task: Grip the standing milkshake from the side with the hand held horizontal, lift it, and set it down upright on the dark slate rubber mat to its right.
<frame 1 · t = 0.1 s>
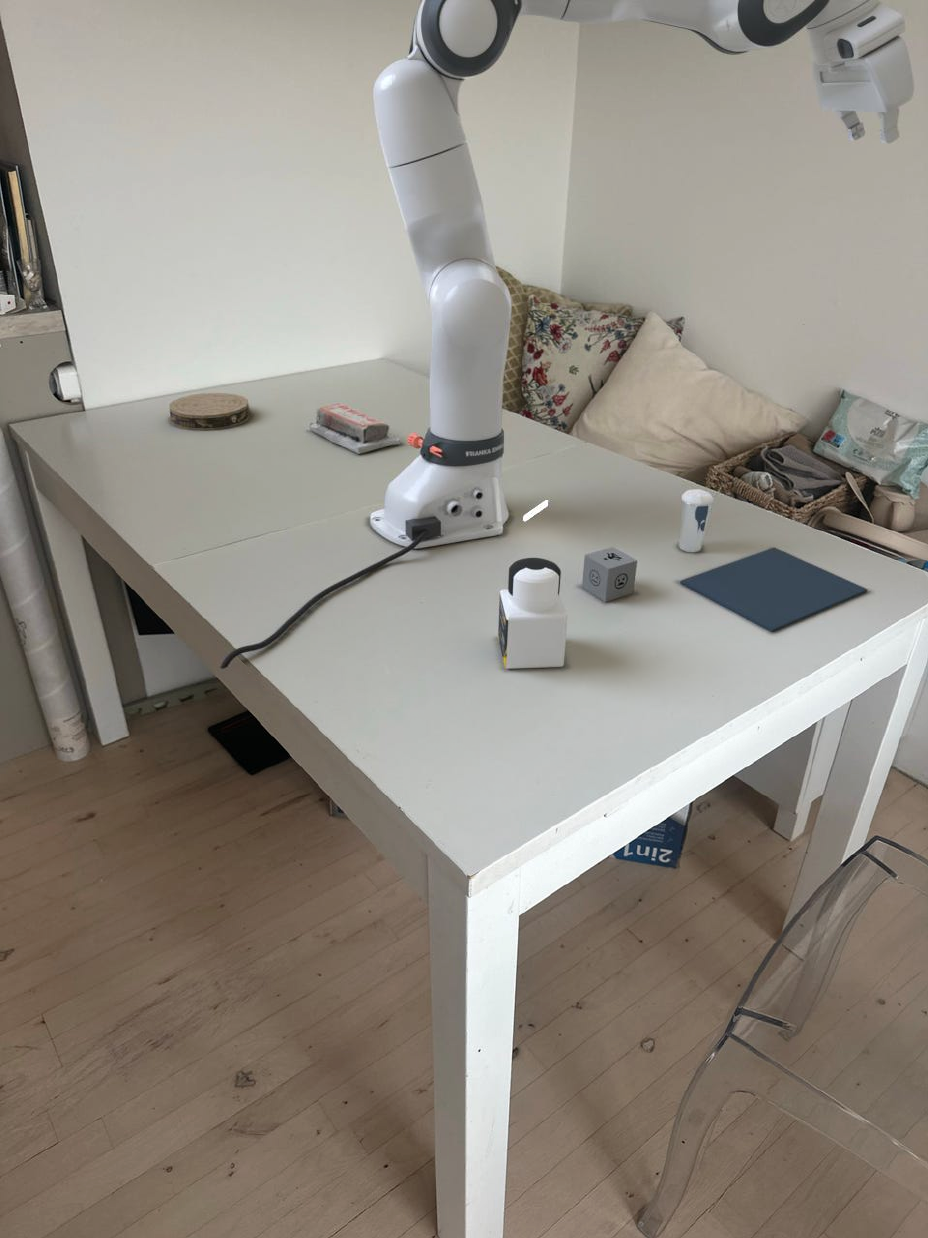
hand: (873, 139, 125), 54 cm above the table, tool tilted 30°, fingers open, 8 cm apart
round wood slice: (211, 418, 189), on the table
milkshake: (692, 549, 137), on the table
packaged product: (353, 438, 179), on the table
medicine bottle: (529, 654, 111), on the table
dice cube: (607, 591, 125), on the table
mat: (772, 587, 127), on the table
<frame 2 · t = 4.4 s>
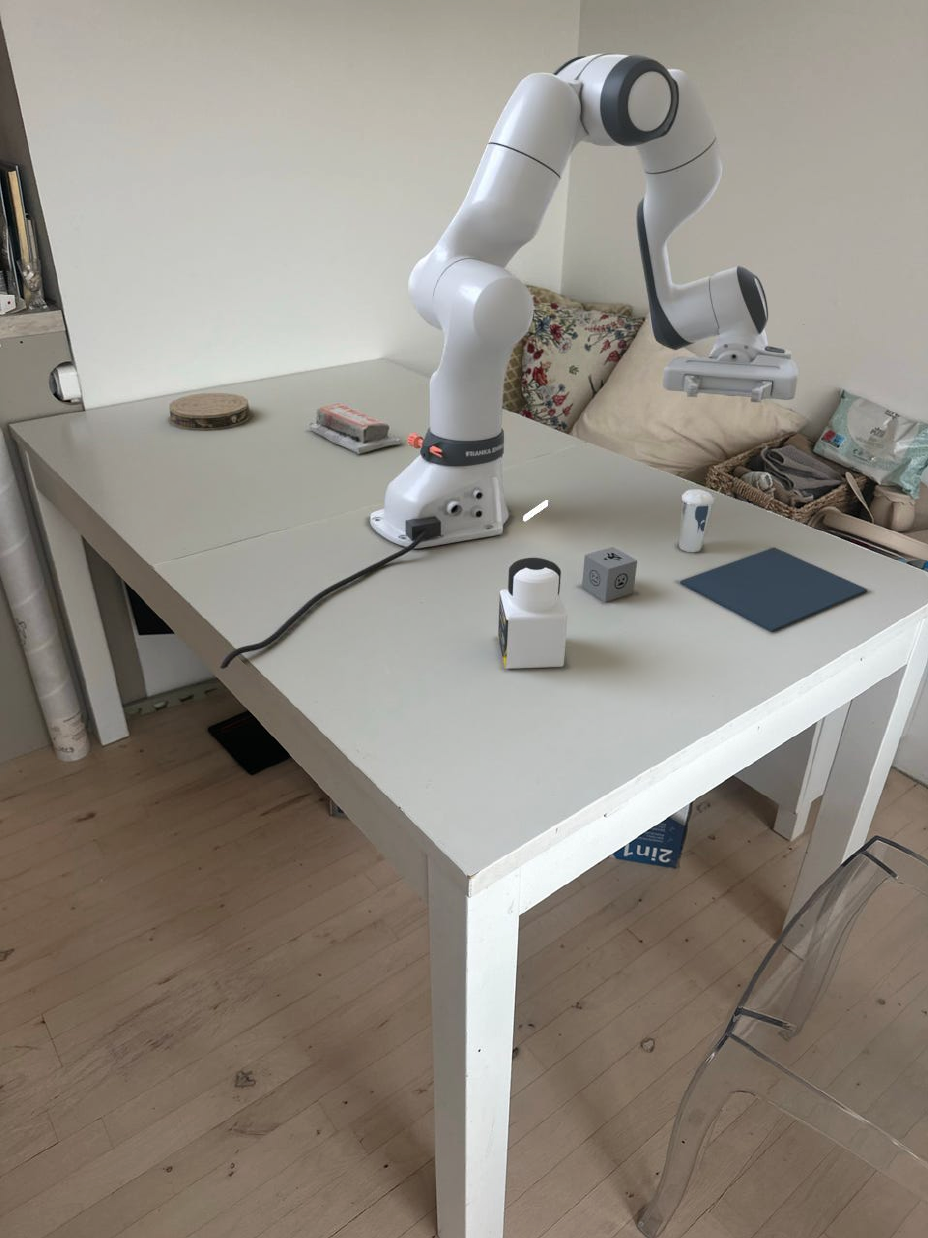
hand: (723, 394, 137), 20 cm above the table, tool horizontal, fingers open, 8 cm apart
nothing on the table moved.
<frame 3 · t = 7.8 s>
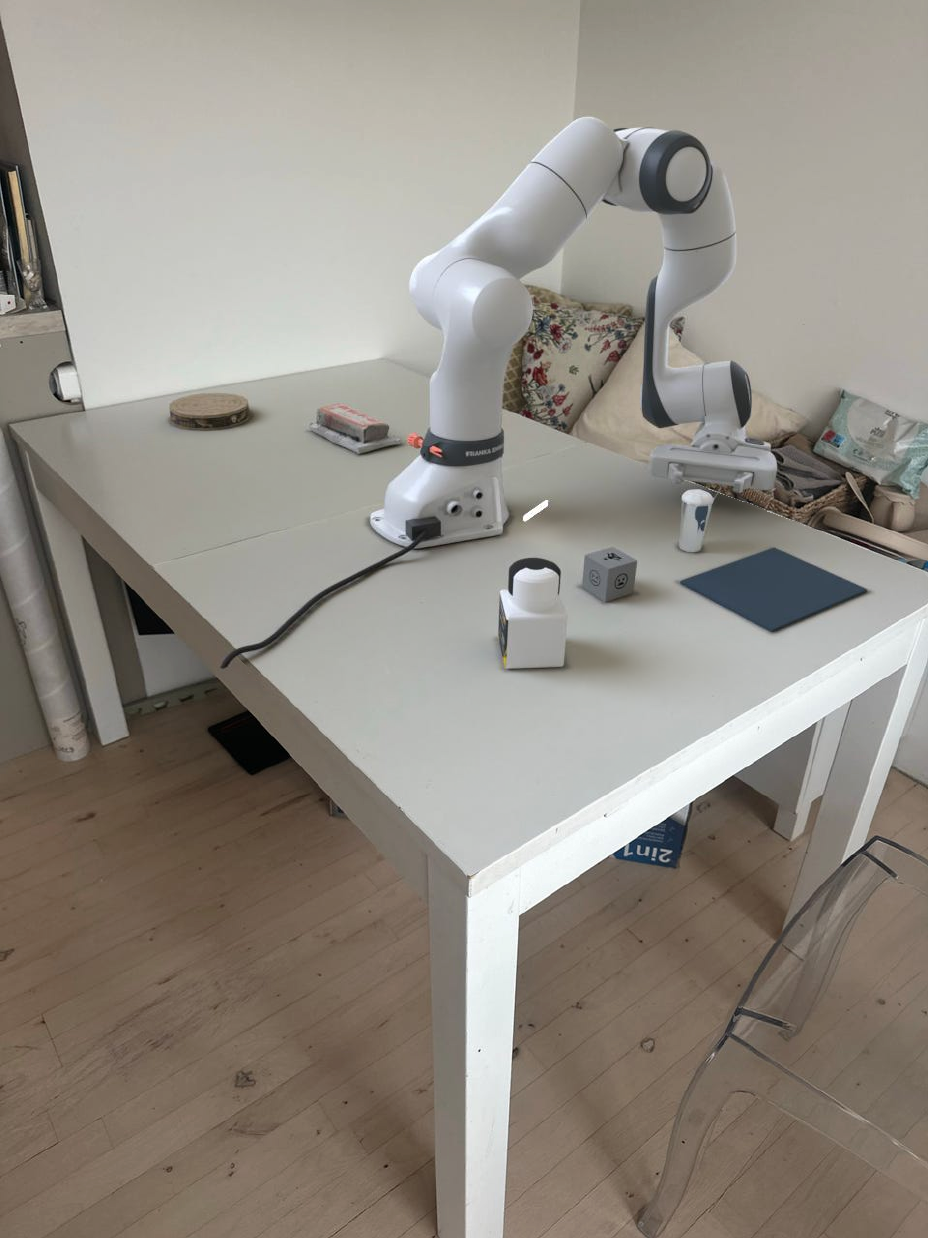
hand: (707, 483, 142), 7 cm above the table, tool horizontal, fingers open, 8 cm apart
nothing on the table moved.
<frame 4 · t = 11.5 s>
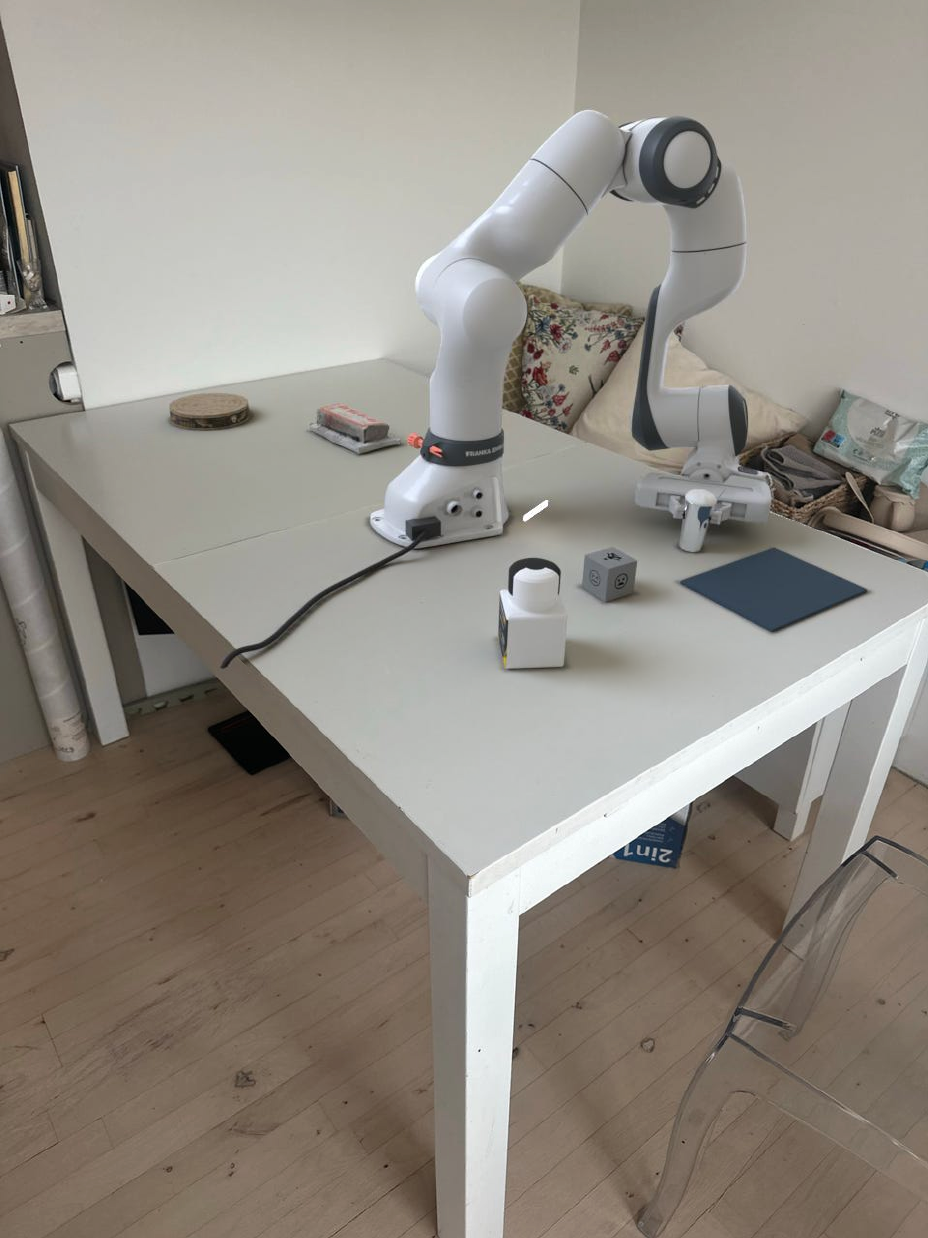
hand: (697, 516, 134), 6 cm above the table, tool horizontal, fingers closed on milkshake, 4 cm apart
milkshake: (692, 549, 137), on the table, touching gripper
everything else where it was.
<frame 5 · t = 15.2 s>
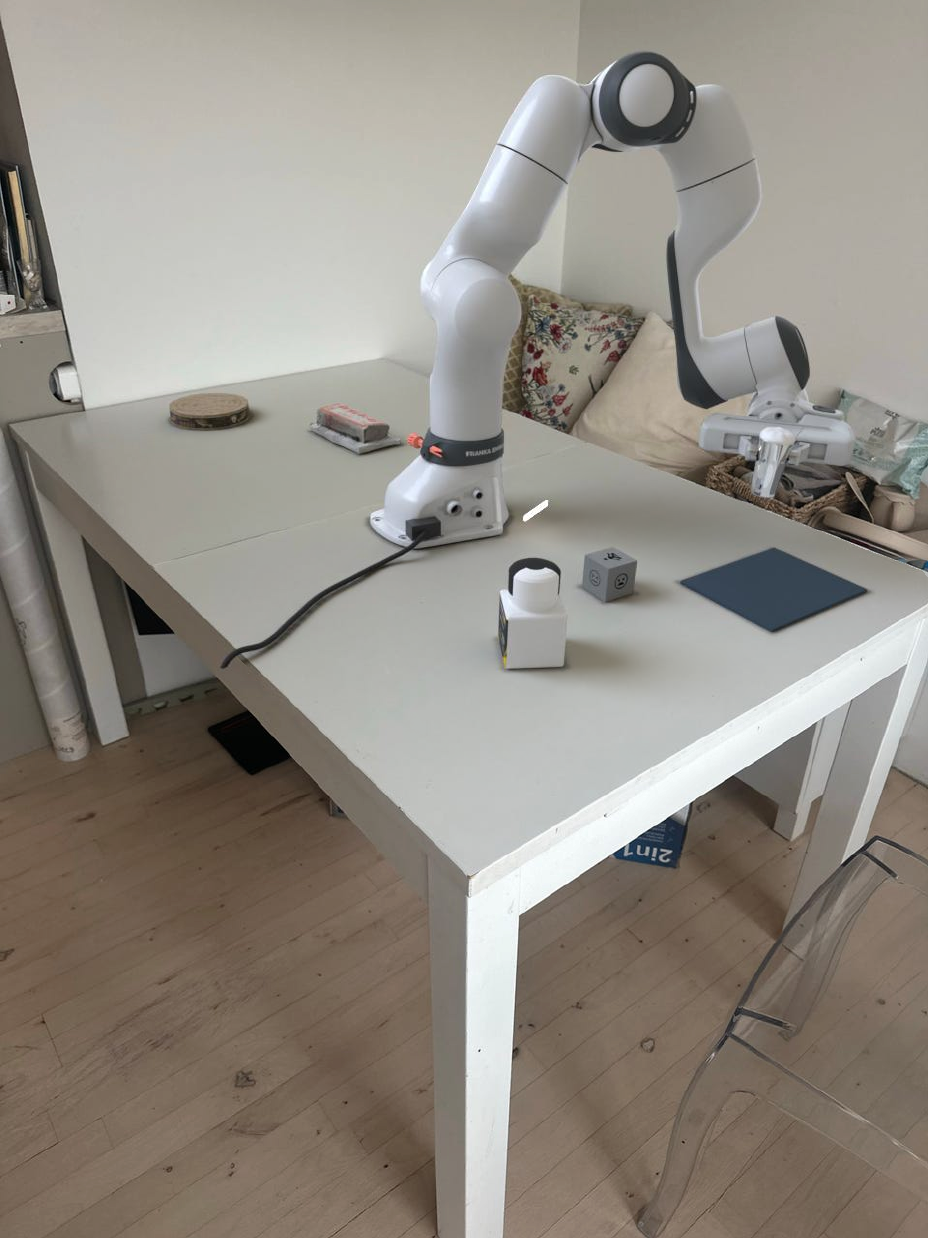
hand: (772, 457, 120), 18 cm above the table, tool horizontal, fingers closed on milkshake, 4 cm apart
milkshake: (765, 495, 124), point 12 cm above the table, touching gripper
everything else where it was.
when the fingers open (6 cm above the table, at t = 19.3 s): milkshake stays where it is, resting on mat.
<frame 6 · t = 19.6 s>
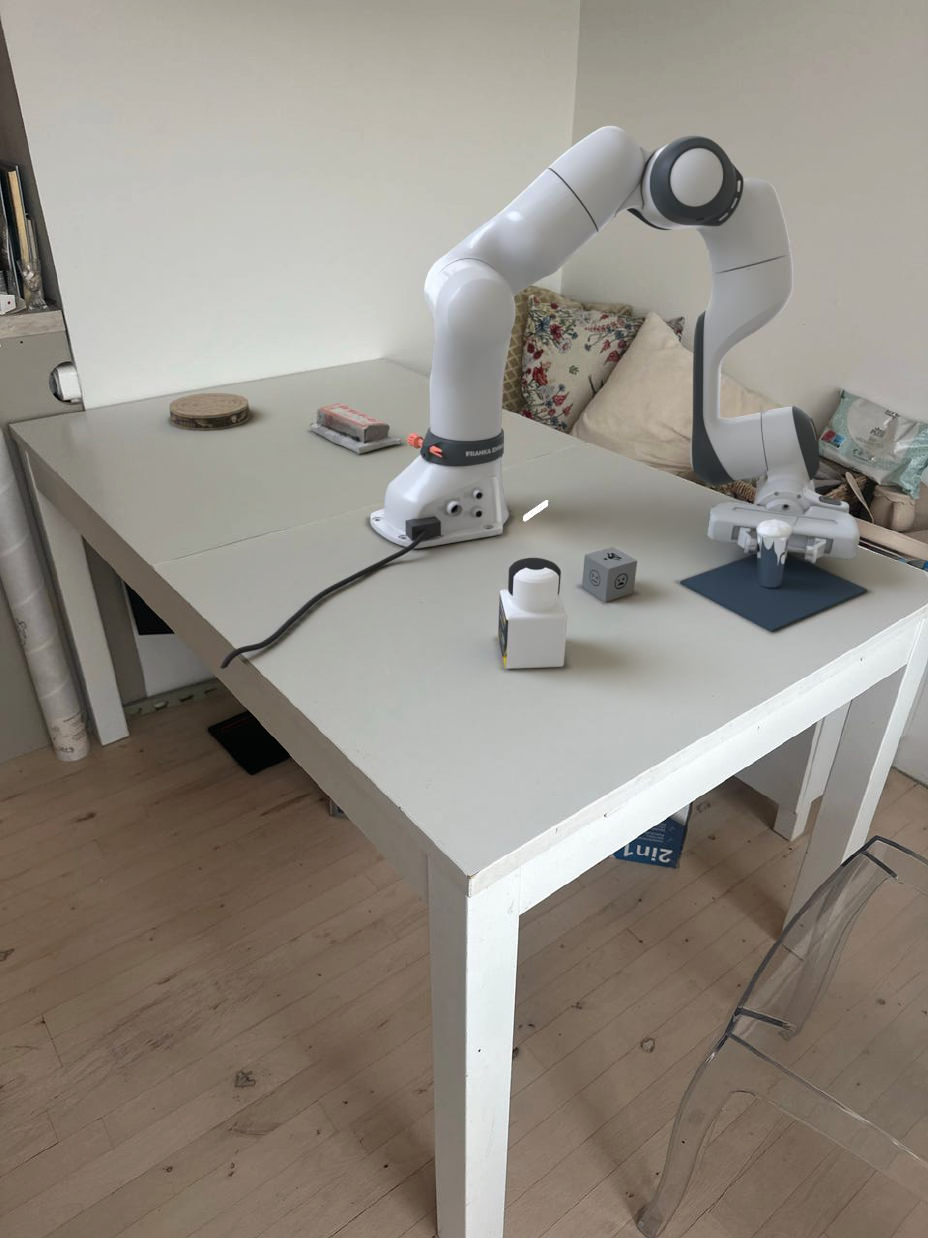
hand: (780, 553, 123), 6 cm above the table, tool horizontal, fingers open, 6 cm apart
milkshake: (772, 584, 127), resting on mat, touching gripper
everything else where it was.
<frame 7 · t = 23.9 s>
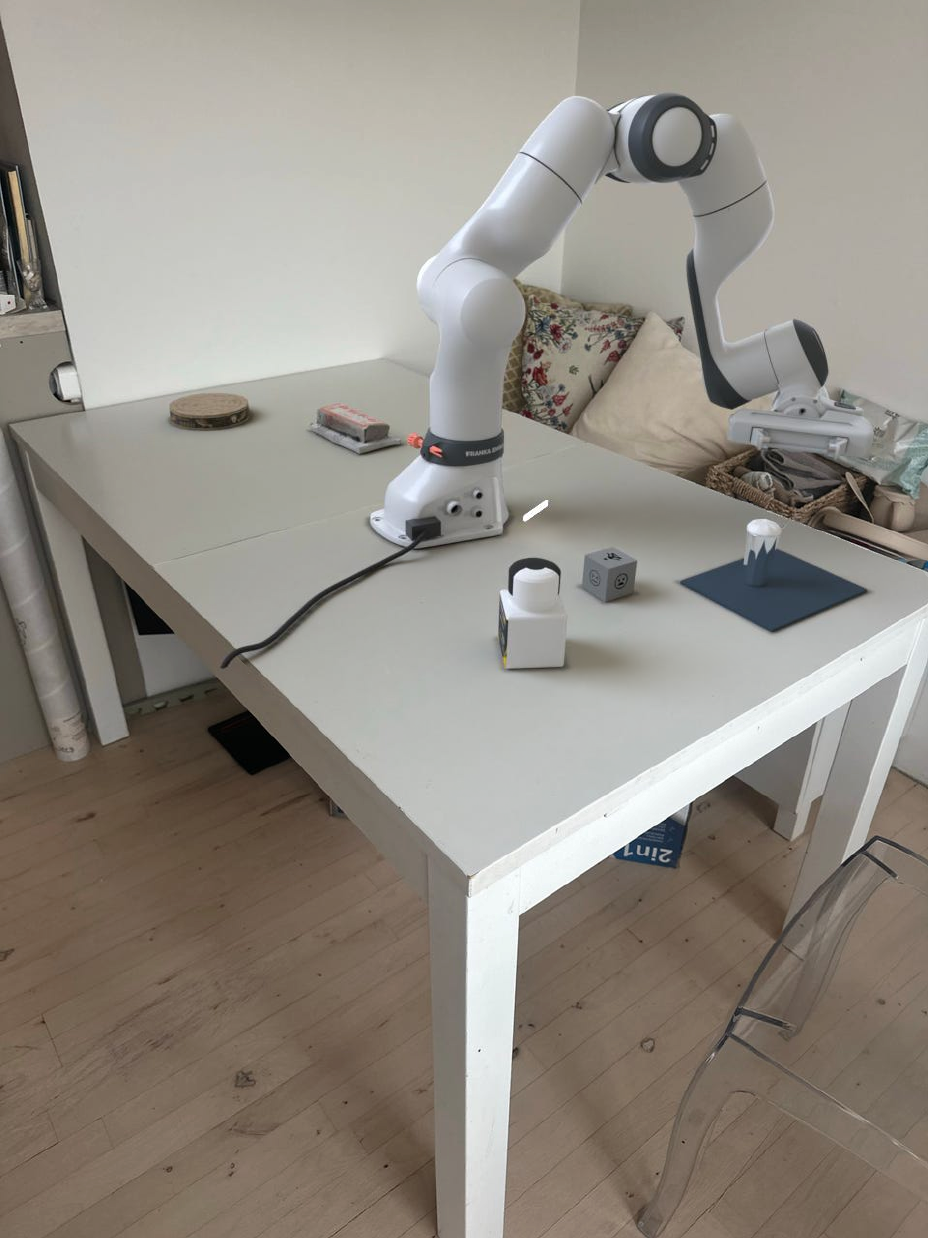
hand: (797, 449, 128), 16 cm above the table, tool horizontal, fingers open, 8 cm apart
milkshake: (756, 583, 127), resting on mat
everything else where it was.
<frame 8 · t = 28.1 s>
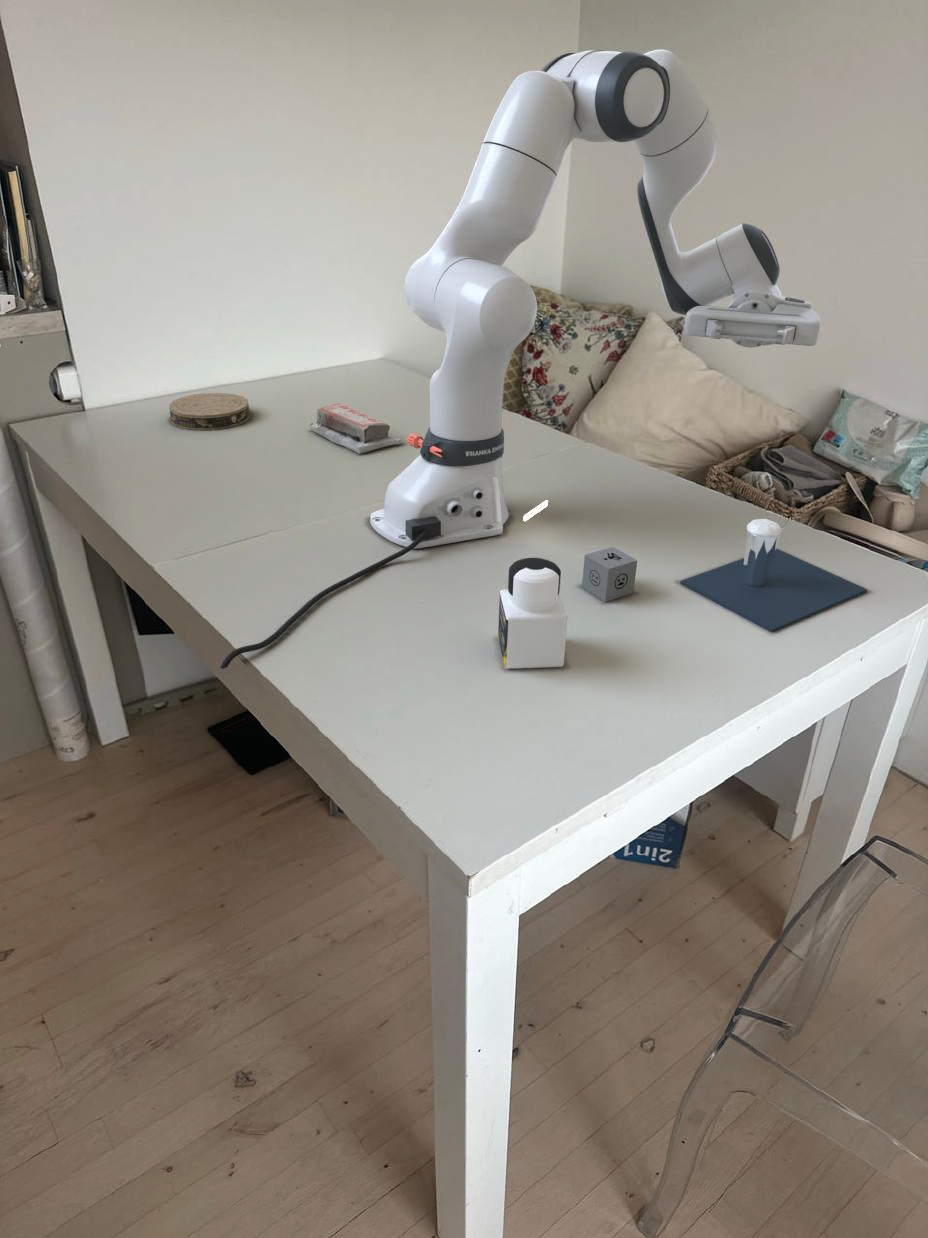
hand: (748, 336, 137), 28 cm above the table, tool horizontal, fingers open, 8 cm apart
nothing on the table moved.
at the end: milkshake inside the target area on the mat (2.2 cm from its centre), point 0.2 cm above the mat's base; milkshake tilted 0°; milkshake moved 13.2 cm from its start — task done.
